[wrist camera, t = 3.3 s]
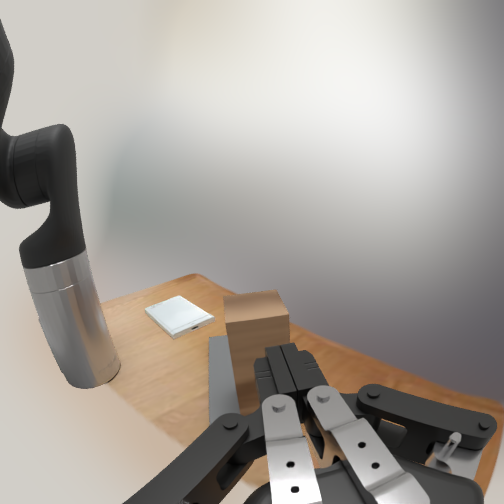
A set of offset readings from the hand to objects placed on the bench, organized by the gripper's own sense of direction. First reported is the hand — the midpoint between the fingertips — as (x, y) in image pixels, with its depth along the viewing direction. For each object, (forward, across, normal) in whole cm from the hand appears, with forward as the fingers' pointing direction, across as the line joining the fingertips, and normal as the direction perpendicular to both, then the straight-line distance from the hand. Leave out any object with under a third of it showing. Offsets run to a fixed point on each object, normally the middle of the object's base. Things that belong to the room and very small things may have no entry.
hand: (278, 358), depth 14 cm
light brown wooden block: (+10, 0, +14) cm, 17 cm away
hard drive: (+34, +12, +15) cm, 39 cm away
